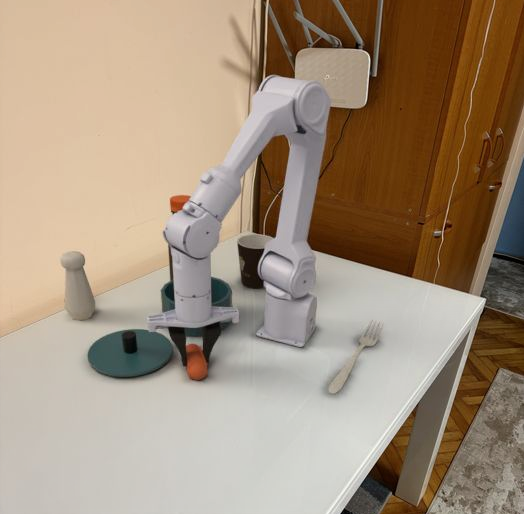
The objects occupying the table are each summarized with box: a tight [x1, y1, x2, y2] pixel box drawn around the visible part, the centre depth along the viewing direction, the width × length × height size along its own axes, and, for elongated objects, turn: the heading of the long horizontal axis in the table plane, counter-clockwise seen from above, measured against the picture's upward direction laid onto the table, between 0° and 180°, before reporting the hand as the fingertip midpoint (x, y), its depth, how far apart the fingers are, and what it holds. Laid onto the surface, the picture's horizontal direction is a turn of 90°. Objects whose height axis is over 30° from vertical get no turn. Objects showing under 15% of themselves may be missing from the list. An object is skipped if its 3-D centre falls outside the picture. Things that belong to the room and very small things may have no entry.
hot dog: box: [185, 343, 208, 381], centre depth 86 cm, size 9×3×3 cm, turn 16°
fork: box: [328, 319, 385, 395], centre depth 91 cm, size 3×24×2 cm, turn 152°
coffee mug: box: [236, 233, 275, 290], centre depth 115 cm, size 12×9×10 cm
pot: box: [160, 276, 233, 338], centre depth 100 cm, size 13×13×6 cm
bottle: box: [167, 194, 191, 281], centre depth 108 cm, size 7×7×20 cm
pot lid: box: [87, 328, 173, 378], centre depth 88 cm, size 14×14×4 cm
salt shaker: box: [60, 250, 96, 321], centre depth 97 cm, size 6×6×13 cm
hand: (195, 361), depth 86 cm, fingers closed on hot dog, 3 cm apart
